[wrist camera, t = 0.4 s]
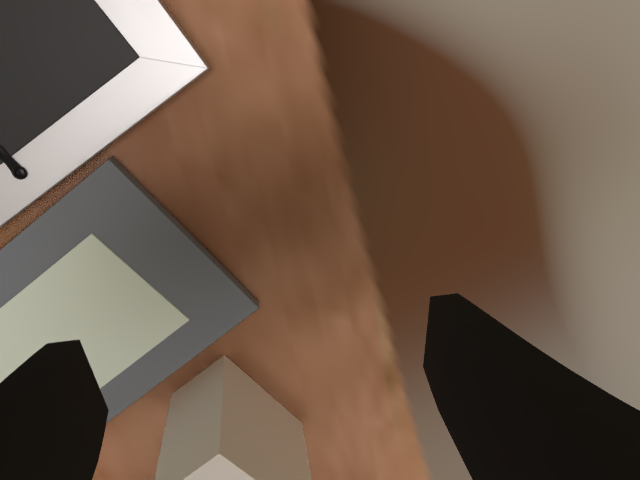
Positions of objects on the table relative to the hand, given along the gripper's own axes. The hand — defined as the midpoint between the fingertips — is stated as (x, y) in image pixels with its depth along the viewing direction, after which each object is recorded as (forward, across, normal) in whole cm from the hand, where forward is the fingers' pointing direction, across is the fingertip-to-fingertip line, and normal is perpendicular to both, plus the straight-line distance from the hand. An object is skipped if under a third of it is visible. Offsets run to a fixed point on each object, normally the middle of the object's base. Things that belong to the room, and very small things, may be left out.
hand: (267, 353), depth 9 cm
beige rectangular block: (+9, +2, +12) cm, 16 cm away
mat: (+10, +9, +6) cm, 15 cm away
